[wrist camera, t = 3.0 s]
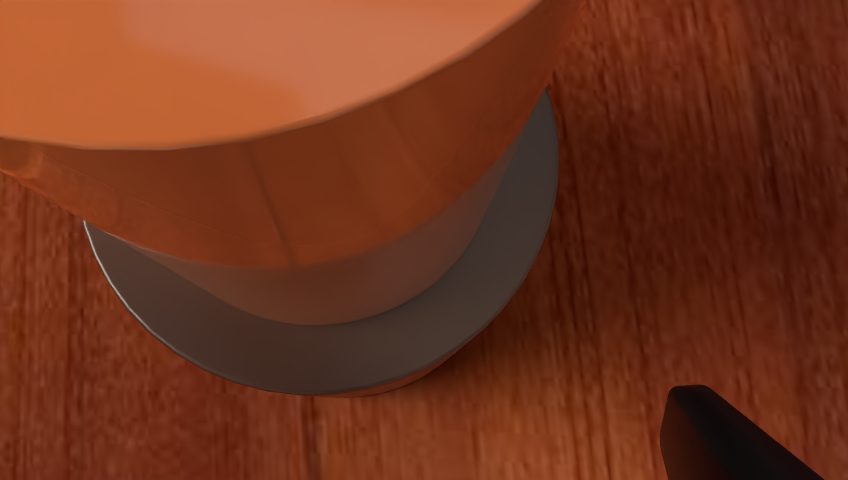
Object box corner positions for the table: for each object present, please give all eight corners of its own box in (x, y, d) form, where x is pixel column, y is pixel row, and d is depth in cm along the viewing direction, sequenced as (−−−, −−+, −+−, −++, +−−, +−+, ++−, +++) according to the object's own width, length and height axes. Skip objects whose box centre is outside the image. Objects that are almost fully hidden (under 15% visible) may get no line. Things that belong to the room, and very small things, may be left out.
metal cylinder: (473, 424, 22) (520, 438, 14) (158, 365, 22) (13, 344, 14) (523, 124, 24) (590, -24, 15) (232, 70, 24) (143, -106, 16)
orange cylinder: (461, 359, 14) (614, 257, 4) (98, 286, 14) (-605, 16, 4) (524, 22, 15) (751, -657, 5) (191, -43, 15) (-174, -831, 6)
